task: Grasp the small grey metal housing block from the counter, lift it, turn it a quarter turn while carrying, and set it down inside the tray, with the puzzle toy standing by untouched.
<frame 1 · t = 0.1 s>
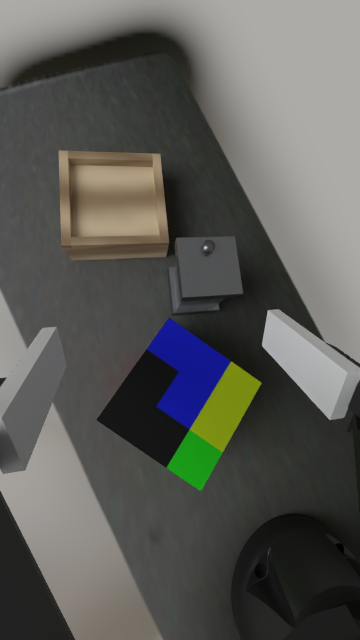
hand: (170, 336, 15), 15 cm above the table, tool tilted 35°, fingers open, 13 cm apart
housing: (191, 291, 32), on the table
tray: (117, 216, 32), on the table
puzzle toy: (170, 387, 30), on the table
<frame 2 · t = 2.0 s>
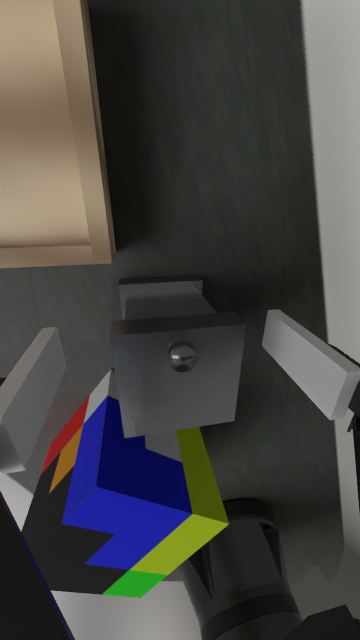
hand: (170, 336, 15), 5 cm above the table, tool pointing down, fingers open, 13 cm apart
housing: (160, 313, 20), on the table
puzzle toy: (125, 424, 24), on the table
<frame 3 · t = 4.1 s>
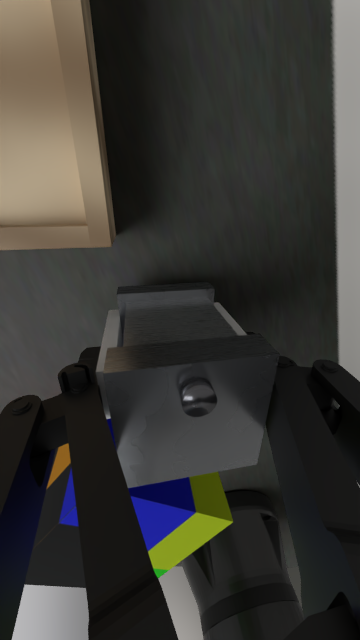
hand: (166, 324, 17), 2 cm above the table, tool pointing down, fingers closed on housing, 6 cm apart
housing: (165, 324, 17), point 2 cm above the table, touching gripper
puzzle toy: (126, 416, 24), on the table
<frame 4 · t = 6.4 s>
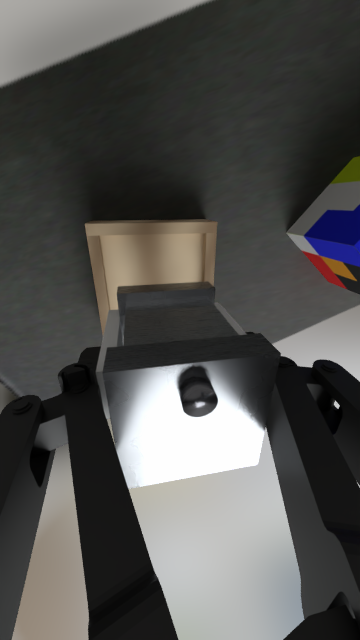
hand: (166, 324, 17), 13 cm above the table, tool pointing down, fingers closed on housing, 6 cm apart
housing: (165, 324, 17), point 12 cm above the table, touching gripper
tray: (153, 275, 28), on the table
puzzle toy: (337, 226, 30), on the table
when the fingers open (4 cm above the table, at t = 8.5 s): housing stays where it is, resting on tray.
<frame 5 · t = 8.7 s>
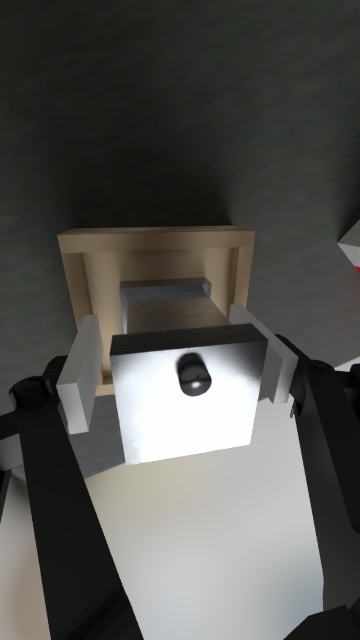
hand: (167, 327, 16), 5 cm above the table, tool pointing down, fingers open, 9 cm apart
housing: (165, 318, 18), point 3 cm above the table, touching tray
tray: (159, 301, 21), on the table
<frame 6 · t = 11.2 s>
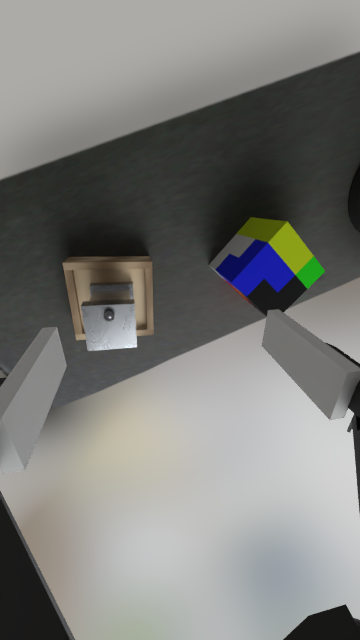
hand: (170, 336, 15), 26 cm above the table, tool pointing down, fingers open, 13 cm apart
housing: (113, 301, 37), point 3 cm above the table, touching tray
tray: (113, 293, 40), on the table
puzzle toy: (246, 260, 42), on the table
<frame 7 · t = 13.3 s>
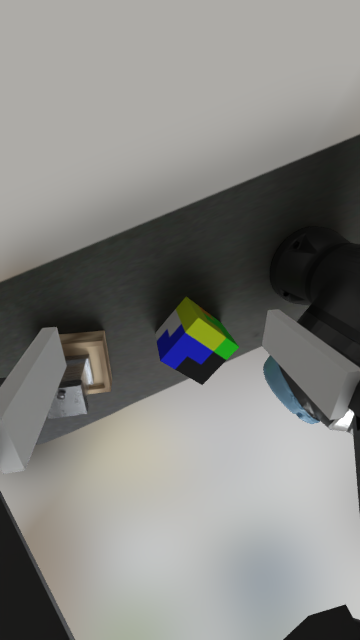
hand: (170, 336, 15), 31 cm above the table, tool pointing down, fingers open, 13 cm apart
housing: (75, 368, 47), point 3 cm above the table, touching tray
tray: (78, 358, 49), on the table
puzzle toy: (188, 327, 51), on the table
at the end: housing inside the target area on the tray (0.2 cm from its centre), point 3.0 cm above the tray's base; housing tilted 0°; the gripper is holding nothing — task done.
